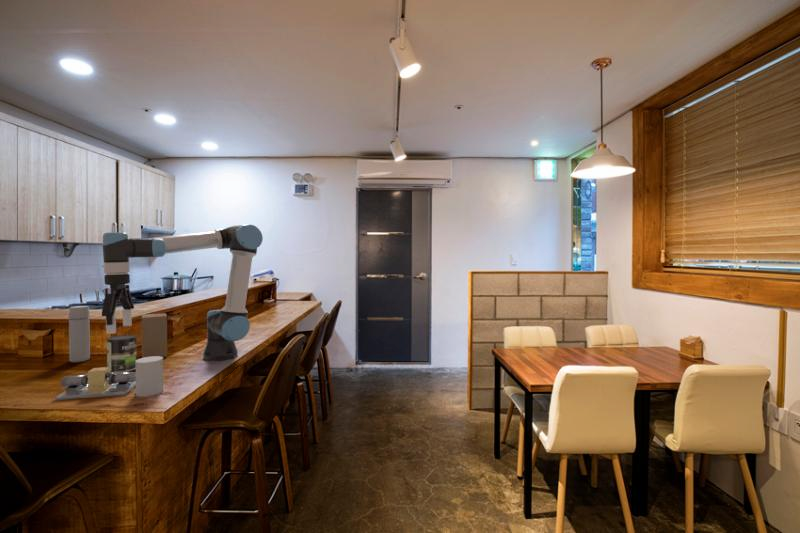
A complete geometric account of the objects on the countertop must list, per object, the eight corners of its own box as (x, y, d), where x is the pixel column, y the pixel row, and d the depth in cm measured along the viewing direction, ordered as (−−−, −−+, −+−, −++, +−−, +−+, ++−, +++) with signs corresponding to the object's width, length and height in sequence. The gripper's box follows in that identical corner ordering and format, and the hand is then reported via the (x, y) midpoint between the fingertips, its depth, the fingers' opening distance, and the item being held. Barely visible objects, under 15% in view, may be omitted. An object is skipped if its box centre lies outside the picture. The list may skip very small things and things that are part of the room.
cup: (166, 392, 131) (166, 359, 130) (139, 398, 125) (138, 364, 124) (159, 386, 136) (159, 354, 136) (133, 392, 130) (132, 359, 130)
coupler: (87, 391, 127) (87, 371, 127) (93, 387, 131) (93, 368, 131) (105, 389, 129) (105, 370, 129) (110, 385, 133) (110, 367, 133)
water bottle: (92, 360, 167) (91, 306, 167) (69, 364, 162) (68, 308, 161) (89, 356, 174) (88, 304, 173) (67, 360, 168) (66, 306, 167)
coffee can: (143, 367, 159) (142, 335, 159) (120, 374, 149) (120, 340, 149) (123, 365, 161) (123, 333, 161) (100, 372, 151) (100, 339, 151)
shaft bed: (139, 384, 138) (139, 366, 138) (126, 394, 128) (126, 375, 128) (73, 388, 133) (73, 370, 133) (54, 400, 122) (53, 380, 122)
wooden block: (166, 352, 184) (165, 313, 183) (167, 356, 176) (167, 315, 175) (141, 355, 178) (141, 314, 177) (141, 360, 170) (141, 317, 169)
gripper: (120, 272, 147) (122, 323, 148) (87, 276, 123) (90, 337, 124) (141, 271, 149) (144, 322, 150) (113, 275, 126) (116, 336, 127)
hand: (119, 329), depth 137 cm, fingers open, 13 cm apart
